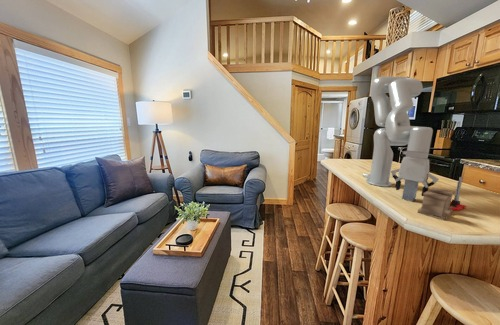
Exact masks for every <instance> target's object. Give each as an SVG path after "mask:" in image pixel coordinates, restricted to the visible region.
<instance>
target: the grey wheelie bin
mask: <svg viewBox="0 0 500 325" xmlns="http://www.w3.org/2000/svg"><path fill="white" fill-rule="evenodd" d="M403 180H404V185H403V186H404V187H403V191H402V196H401V200H403V199H404V201H408V202H411V203H413V202H414V201H416V198H417V193H418V187H419V184H420V182H415V181H410V180H405V179H403Z"/></svg>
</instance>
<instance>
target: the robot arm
mask: <svg viewBox="0 0 500 325" xmlns="http://www.w3.org/2000/svg"><path fill="white" fill-rule="evenodd" d="M423 89H424V88H423V83H422V81H421V80H420V79H416V78H413V77H407V76H390V75H389V76H388V75H387V76H386V75H385V76H379V77H376V78H374V80H373V81H372V82H371V85H370V97H371V102H372V103H373V110H374V120H375V124H376V125H377V126H378V127H380V128H378V129H376V130H375V131H374V134H373V152H372V160H371V167H370V168H371V169H370V173H369V174H368V173H363V174H362V177H363V178H366V180H365V182H366V183H367V184H369V185H372V186H377V187H378V186H379V187H384V188H385V187H392V185H393V183H392V182H390V177H391V175H392V178H393V179H394V182H395V190H396V191H399V190H400V189H401V186H402V185H401V184H402V180H404V179H405V180H410V181H415V182H419V183H422V185H423V186H422V191H421V196H422V197H424V195H423V193H425V192H426V191H427V192H429V191H428V190H429V188H430V187H432V186H434V185H435V184H436V183H437V182H438V181H439V177H436V176H435V175H433V174H432V173H430V159H429V158H428V157H429V154H430V147H431V143H432V137H433V131H434V130H433V128H432V127H429V126H428V127H427V126H417V125H416V126H415V125H411V123H410V122H411V120H410V116H409V114H408V113H407V112H409V111H411V110H412V109H413V107H414V101H413V98H415V97H418V96H419V95H421V93H422V92H423ZM387 94H388V95H389V96H388V95H387ZM391 146H393V147H394V146H395V147H396V146H400V147H403V146H407V148H406V150H404V151H402V155H404V156H403V157H402V160H401V162H400V163H401V164H400V166H399V168H398V169H393V170H392V164H393V159H394V152H393V150H392V148H391ZM397 173H398V174H397ZM429 179H432V181H430V182H428V180H429ZM405 180H404V181H405Z"/></svg>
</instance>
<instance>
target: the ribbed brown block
mask: <svg viewBox="0 0 500 325" xmlns="http://www.w3.org/2000/svg"><path fill="white" fill-rule="evenodd" d="M423 195H424V196H423V199H422V203H421V204H422V205H421V207H419V208H418V209H417V214H421V215H424V216H429V217H431V218H435V219H438V220H441V221H446V219H447V218H449V216H450V215H451V214H452V212H453V211H454V210H453V209H450V208H449V207H451V204H450V203H451V201H452V200H453V199H452V197H453V195H455V191H452V190H447V189H442V188H438V187H431V188H430V189H429V191H428V192H427V191H426V192H425V193H423Z"/></svg>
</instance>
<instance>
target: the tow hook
mask: <svg viewBox="0 0 500 325" xmlns="http://www.w3.org/2000/svg"><path fill="white" fill-rule="evenodd" d="M462 178H463V177H462V176H459V179H458V181H457V183H456V190H455V193H454V197H453V199H451V203H450V207H449V208H450V209H453V210H452V211H456V212H457V211H458V212H459V211H463V210H465V209H466V208H467V205H463V204H461V200H460V196H461V194H460V193H461V188H462V180H463V179H462ZM451 206H453V207H451Z"/></svg>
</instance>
